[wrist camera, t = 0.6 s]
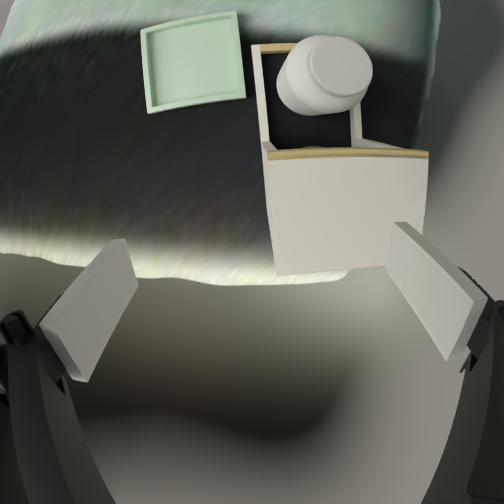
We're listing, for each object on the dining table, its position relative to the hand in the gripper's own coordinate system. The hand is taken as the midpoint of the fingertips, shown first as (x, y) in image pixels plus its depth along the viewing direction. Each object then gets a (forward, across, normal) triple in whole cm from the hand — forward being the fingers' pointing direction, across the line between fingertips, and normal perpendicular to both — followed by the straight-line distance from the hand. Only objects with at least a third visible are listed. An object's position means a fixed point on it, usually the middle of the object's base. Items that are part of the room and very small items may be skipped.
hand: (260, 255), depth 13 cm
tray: (+25, -7, +15) cm, 30 cm away
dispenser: (+25, +7, +5) cm, 27 cm away
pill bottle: (+25, +7, +10) cm, 28 cm away
